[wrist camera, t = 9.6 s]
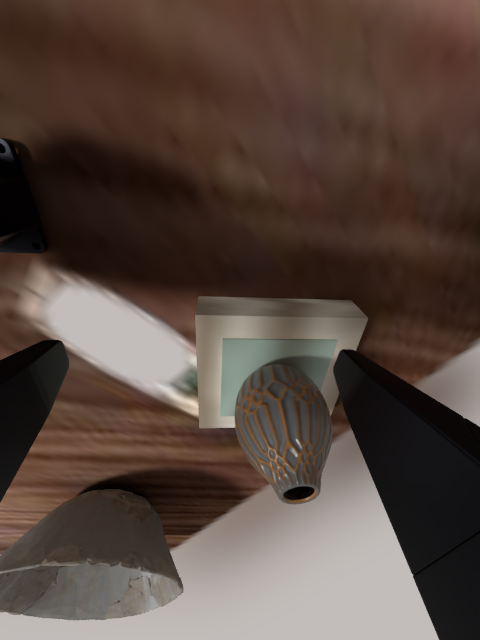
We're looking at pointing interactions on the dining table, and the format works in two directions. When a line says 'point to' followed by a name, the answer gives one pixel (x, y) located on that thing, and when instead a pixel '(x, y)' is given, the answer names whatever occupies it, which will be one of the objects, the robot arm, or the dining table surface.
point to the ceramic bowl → (91, 561)
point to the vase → (284, 430)
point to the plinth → (268, 345)
